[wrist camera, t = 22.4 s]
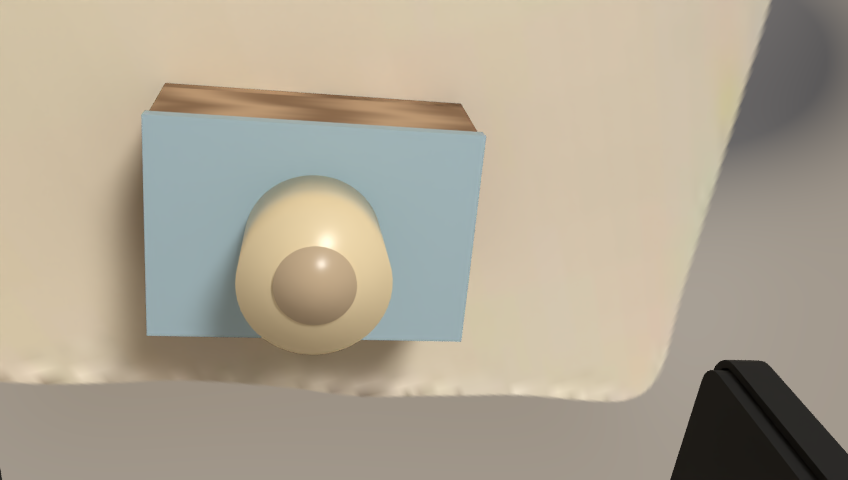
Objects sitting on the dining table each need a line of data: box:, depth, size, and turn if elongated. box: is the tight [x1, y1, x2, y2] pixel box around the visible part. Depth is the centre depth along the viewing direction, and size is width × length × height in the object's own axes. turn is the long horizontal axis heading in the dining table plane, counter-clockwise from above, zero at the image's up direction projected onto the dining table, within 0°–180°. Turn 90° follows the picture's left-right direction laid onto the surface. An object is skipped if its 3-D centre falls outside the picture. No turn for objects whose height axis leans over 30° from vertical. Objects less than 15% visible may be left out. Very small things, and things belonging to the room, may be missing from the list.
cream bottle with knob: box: [235, 175, 393, 355], centre depth 33 cm, size 6×6×5 cm
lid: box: [141, 110, 486, 342], centre depth 36 cm, size 14×10×1 cm
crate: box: [149, 83, 477, 132], centre depth 39 cm, size 14×10×5 cm
